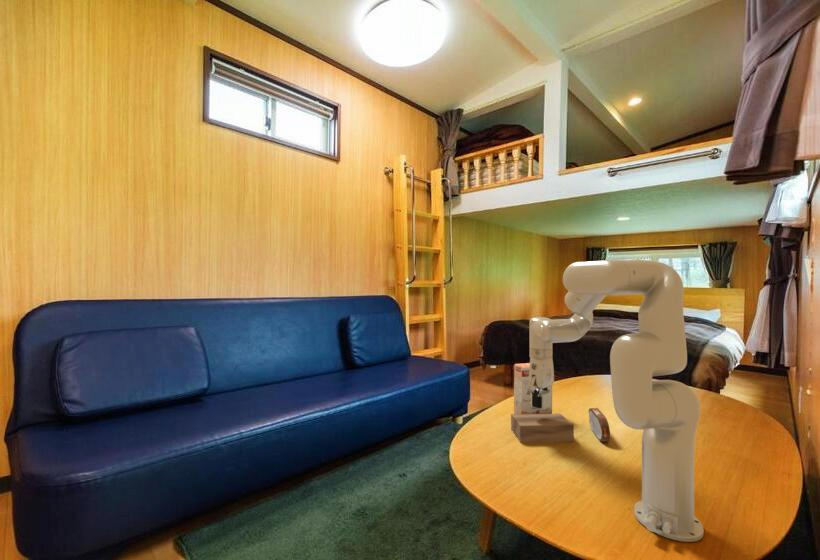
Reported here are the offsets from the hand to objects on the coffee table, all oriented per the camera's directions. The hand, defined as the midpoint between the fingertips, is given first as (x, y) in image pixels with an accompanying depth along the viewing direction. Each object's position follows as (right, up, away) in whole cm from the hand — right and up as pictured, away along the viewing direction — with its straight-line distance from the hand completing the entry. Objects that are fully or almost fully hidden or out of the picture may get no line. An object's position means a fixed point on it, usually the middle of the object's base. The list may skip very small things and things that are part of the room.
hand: (540, 404), depth 124 cm
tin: (+20, -11, -1) cm, 23 cm away
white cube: (0, -1, 0) cm, 1 cm away
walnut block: (0, -11, 0) cm, 11 cm away
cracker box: (+3, -11, +17) cm, 20 cm away
